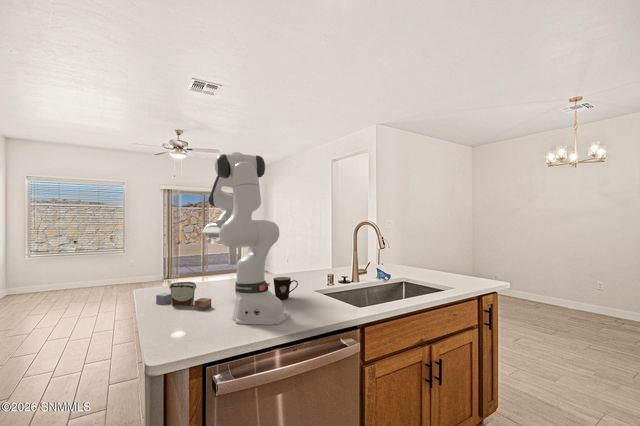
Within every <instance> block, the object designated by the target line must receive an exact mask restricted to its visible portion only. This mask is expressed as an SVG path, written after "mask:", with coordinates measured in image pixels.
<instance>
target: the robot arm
mask: <svg viewBox="0 0 640 426" xmlns="http://www.w3.org/2000/svg"><path fill="white" fill-rule="evenodd" d="M214 170H215V173H216V175H217V176H216V178H215V180H214V183H213V185H212V189H211V192H210V193H209V195H208V200H207V201H208V203H209V205H210V206H211V207H214V208H217V209H221V210H222V213H221V214H220V215H219V217H218V218H217V220H216V222H211V223H208V224H207V225H205V226H204V228H203V229H202V231H201V235H202V236H203V238H207V239H206V243H207V244H208V243H211V242H212V240H211V239H213V238H218V239H217V243H218V244H222V245H223V246H225V247H228V248H235V249H239V248H240V249H241V248H247V249H248V250H247V252H246V253H245V255H244V256H242V257H241V258H240V259H239V260H238V261H237V263H236V281H235V286H234V287H235V301H234V308H233V309H234V310H233V312H232V316H231V318H232V320H234V321H235V324H240V325H241V324H242V325H243V324H244V325H269V326H270V325H272V326H273V325H278V324H280V323H283V322H284V321H286V320H287V319H288V318H289V317H290V316H289V312H288V311H284V306H283V302H282V300H280V299H279V298H277V297H276V296H275V293H273V292H271V291H270V290H269V286H271V282H268V283H267V281H266V280H265V270H266V269H265V268H266V260H267V256H268V254H269V252H270V250H271V248H272V247H273V246H274V244H276V243H277V242H278V240H279V238H280V229H279V226H278V224H277V223H276V222H273V221H270V220H267V219H264V220H263V219H252V215H253V212H256V211H257V210H258V209H259V208H260V207H261V205H262V196H261V186H260V181H259V178H262V177H263V176H264V175H265V172H266V163H265V159H264V158H263V157H262V156H261V155H257V154H254V155H253V154H252V155H251V154H245V153H242V152H238V151H233V152H231V153H229V154H226V153H223V154H219V155H217V156H216V158H215V161H214ZM223 187H227V188H231V189H232V193H229V192H226V191H224V190H223Z"/></svg>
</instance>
